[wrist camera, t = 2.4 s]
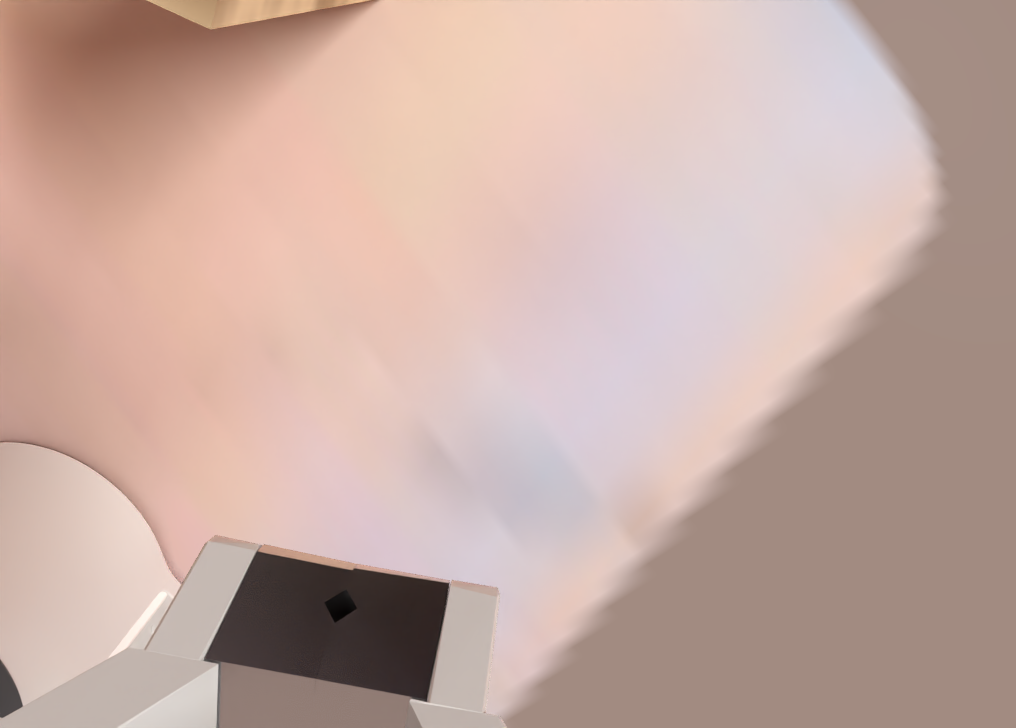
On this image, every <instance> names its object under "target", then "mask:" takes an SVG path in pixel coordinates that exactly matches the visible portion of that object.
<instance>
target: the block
mask: <svg viewBox="0 0 1016 728" xmlns="http://www.w3.org/2000/svg"><path fill="white" fill-rule="evenodd" d="M147 1H149V2H151V3H153V4H155V5H158V6H160V7H162V8H164V9H166V10H169V11H171V12H173V13H175V14H177V15H179V16H182V17H184V18H186V19H188V20H190V21H193V22H195V23H197V24H199V25H201V26H204V27H206V28H208V29H210V30H211V29H217V28H222V27H228V26H233V25H239V24H244V23H250V22H255V21H260V20H266V19H271V18H277V17H282V16H288V15H293V14H299V13H304V12H310V11H315V10H321V9H326V8H332V7H337V6H343V5H348V4H354V3H359V2H364V1H370V0H147Z"/></svg>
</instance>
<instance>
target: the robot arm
mask: <svg viewBox="0 0 1016 728" xmlns="http://www.w3.org/2000/svg"><path fill="white" fill-rule="evenodd" d="M449 583H450V580H445V579H439V578H434V577H428V576H422V575H417V574H411V573H406V572H400V571H395V570H389V569H383V568H378V567H372V566H367V565H361V564H355V563H350V562H345V561H341V560H336V559H331V558H326V557H322V556H317V555H312V554H307V553H303V552H298V551H293V550H289V549H284V548H279V547H274V546H270V545H265V544H264V545H259V544H255V543H250V542H246V541H241V540H236V539H232V538H227V537H222V536H218V535H215V536H214V537H213V538H211V539H210V540H209V541H208V542H207V543H205V544H204V546H203V548H202V550H201V551H200V553H199V555H198V557H197V558H196V560H195V562H194V564H193V565H192V567H191V569H190V570H189V572H188V574H187V576H186V577H185V579H184V581H183V583H182V584H180V583H179V581H178V580H177V579H176V578H175V577H174V576H173V575H172V573H171V572H170V570H169V568H168V566H167V564H166V562H165V559H164V557H163V554H162V552H161V549H160V547H159V544H158V542H157V540H156V538H155V536H154V534H153V532H152V530H151V529H150V527H149V525H148V524H147V522H146V521H145V519H144V518H143V516H142V515H141V514H140V512H139V511H138V510H137V509H136V507H135V506H134V505H133V504H132V503H131V502H130V501H129V499H128V498H127V497H126V496H125V495H124V494H123V493H122V492H121V491H120V490H119V489H117V488H116V487H115V486H114V485H113V484H112V483H110V482H109V481H108V480H107V479H105V478H104V477H103V476H101V475H100V474H99V473H97V472H96V471H94V470H93V469H91V468H89V467H88V466H86V465H84V464H83V463H81V462H79V461H77V460H75V459H73V458H71V457H69V456H67V455H64V454H62V453H59V452H57V451H54V450H51V449H48V448H44V447H41V446H36V445H32V444H25V443H16V442H0V728H507V727H506V725H505V723H504V722H503V720H502V718H501V717H500V716H497V715H492V714H487V713H486V705H487V697H488V689H489V681H490V673H491V665H492V657H493V648H494V640H495V632H496V624H497V616H498V608H499V600H500V593H499V590H498V588H497V587H491V586H485V585H479V584H473V583H467V582H461V581H455V580H452V581H451V584H450V587H449ZM448 589H449V592H448ZM447 595H448V597H447ZM446 601H447V602H446ZM445 606H446V607H445ZM444 612H445V613H444ZM443 617H444V618H443Z"/></svg>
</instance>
